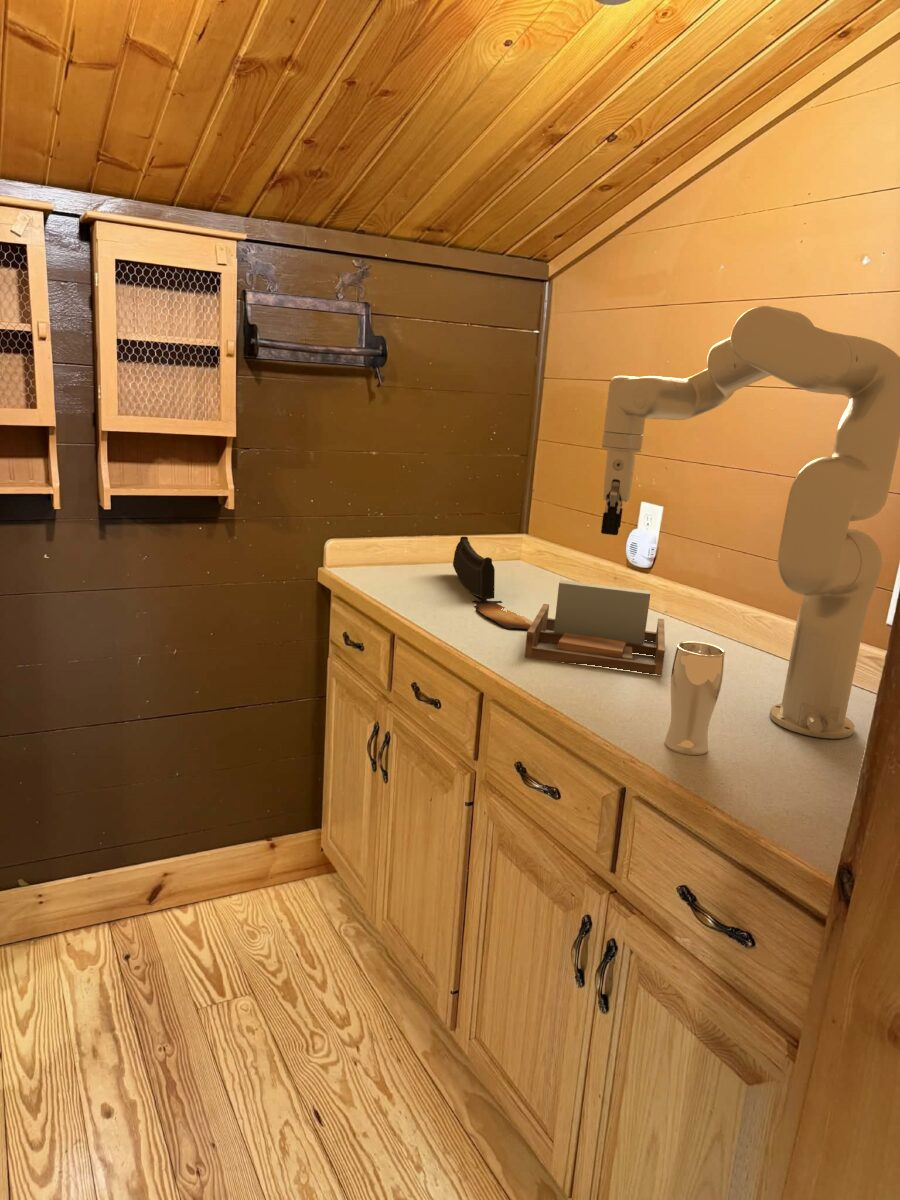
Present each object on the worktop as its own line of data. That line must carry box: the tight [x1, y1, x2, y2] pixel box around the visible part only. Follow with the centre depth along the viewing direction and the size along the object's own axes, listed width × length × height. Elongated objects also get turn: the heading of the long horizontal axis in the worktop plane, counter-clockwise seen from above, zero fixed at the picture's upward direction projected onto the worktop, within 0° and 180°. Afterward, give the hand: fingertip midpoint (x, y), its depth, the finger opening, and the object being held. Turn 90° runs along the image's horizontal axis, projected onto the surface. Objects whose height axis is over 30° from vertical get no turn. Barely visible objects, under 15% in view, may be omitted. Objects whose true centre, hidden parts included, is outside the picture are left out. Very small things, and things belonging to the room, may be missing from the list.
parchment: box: [471, 599, 533, 631], centre depth 187 cm, size 25×10×1 cm, turn 19°
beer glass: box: [664, 641, 726, 756], centre depth 120 cm, size 7×7×15 cm
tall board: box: [553, 579, 651, 645], centre depth 169 cm, size 3×18×12 cm, turn 76°
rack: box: [524, 603, 666, 676], centre depth 166 cm, size 24×25×5 cm
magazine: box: [452, 536, 496, 600], centre depth 209 cm, size 17×3×30 cm
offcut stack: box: [557, 633, 633, 660], centre depth 161 cm, size 8×14×4 cm, turn 76°
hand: (610, 530), depth 165 cm, fingers open, 9 cm apart
